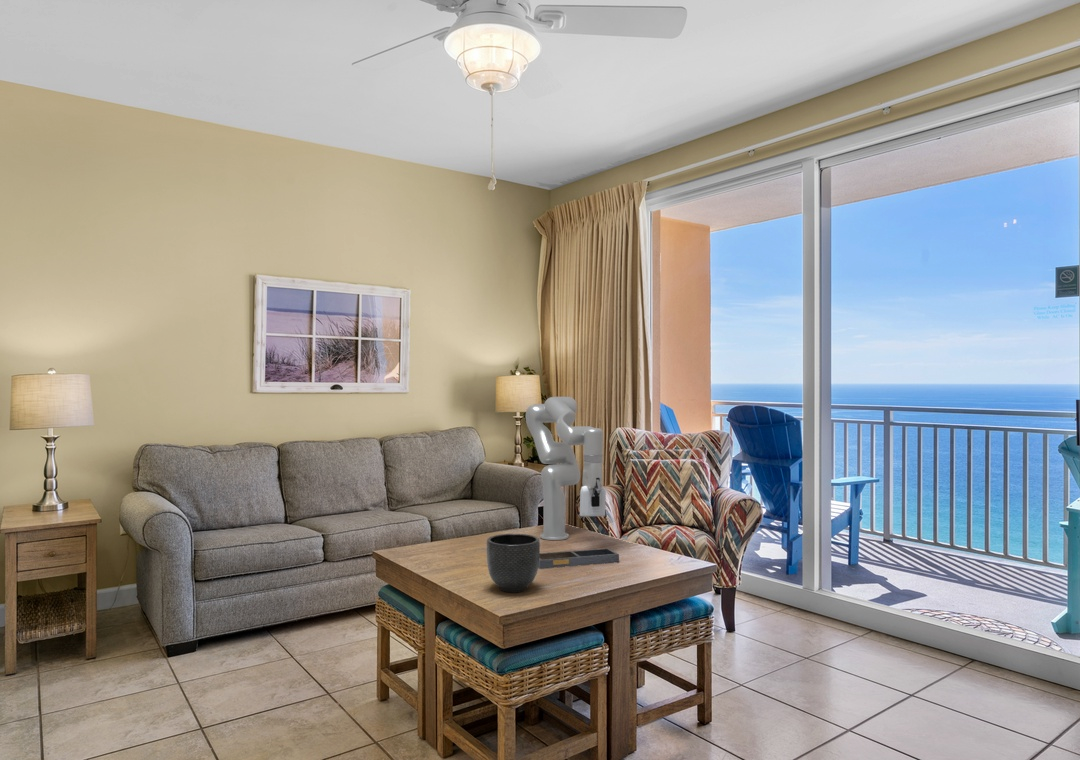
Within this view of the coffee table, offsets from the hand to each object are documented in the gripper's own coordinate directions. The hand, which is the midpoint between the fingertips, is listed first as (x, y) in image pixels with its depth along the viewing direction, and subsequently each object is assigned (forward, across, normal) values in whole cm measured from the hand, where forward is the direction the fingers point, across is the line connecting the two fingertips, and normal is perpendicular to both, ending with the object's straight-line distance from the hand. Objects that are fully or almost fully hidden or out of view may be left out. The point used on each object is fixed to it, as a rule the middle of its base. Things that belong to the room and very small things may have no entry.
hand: (592, 504), depth 268 cm
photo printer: (+5, 0, 0) cm, 5 cm away
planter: (+19, +38, -43) cm, 60 cm away
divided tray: (+19, +13, -12) cm, 25 cm away
